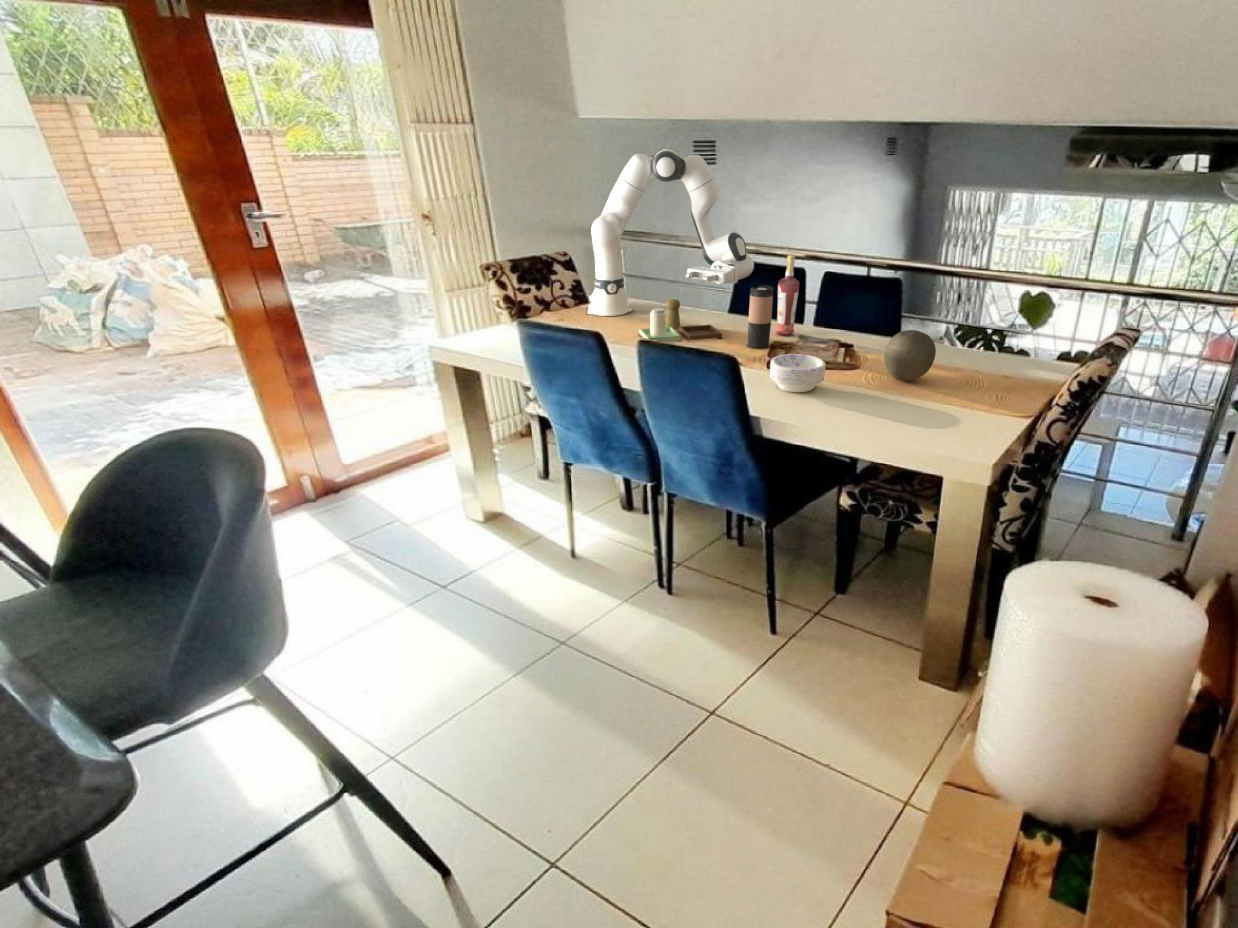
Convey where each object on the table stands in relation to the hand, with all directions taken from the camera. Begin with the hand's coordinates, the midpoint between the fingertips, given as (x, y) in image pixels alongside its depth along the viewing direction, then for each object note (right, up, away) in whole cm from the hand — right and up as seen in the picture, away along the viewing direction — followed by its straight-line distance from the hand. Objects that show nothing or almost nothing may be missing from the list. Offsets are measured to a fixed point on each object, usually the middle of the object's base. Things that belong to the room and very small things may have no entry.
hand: (696, 277), depth 266 cm
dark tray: (0, -24, -9) cm, 25 cm away
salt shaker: (-15, -25, -12) cm, 31 cm away
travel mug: (+19, -30, -23) cm, 42 cm away
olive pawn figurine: (-9, -19, +1) cm, 21 cm away
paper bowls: (+22, -49, -63) cm, 83 cm away
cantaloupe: (+55, -47, -60) cm, 94 cm away
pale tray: (-14, -25, -10) cm, 30 cm away
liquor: (+31, -24, -10) cm, 40 cm away
